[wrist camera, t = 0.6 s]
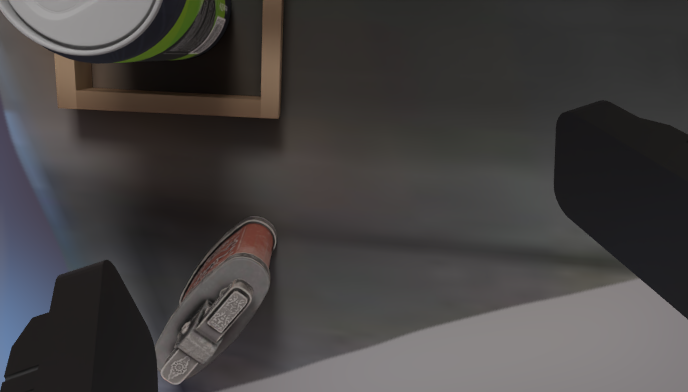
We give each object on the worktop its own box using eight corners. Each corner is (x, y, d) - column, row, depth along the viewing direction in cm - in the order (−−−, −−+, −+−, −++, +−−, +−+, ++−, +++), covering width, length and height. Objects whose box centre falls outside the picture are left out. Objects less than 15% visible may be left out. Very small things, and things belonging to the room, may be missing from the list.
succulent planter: (212, 326, 37) (179, 422, 28) (170, 296, 37) (121, 384, 27) (289, 237, 36) (283, 304, 26) (247, 204, 35) (225, 261, 26)
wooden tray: (62, -121, 30) (41, -136, 28) (286, -103, 31) (284, -117, 29) (76, 104, 33) (57, 108, 31) (280, 114, 34) (278, 118, 32)
